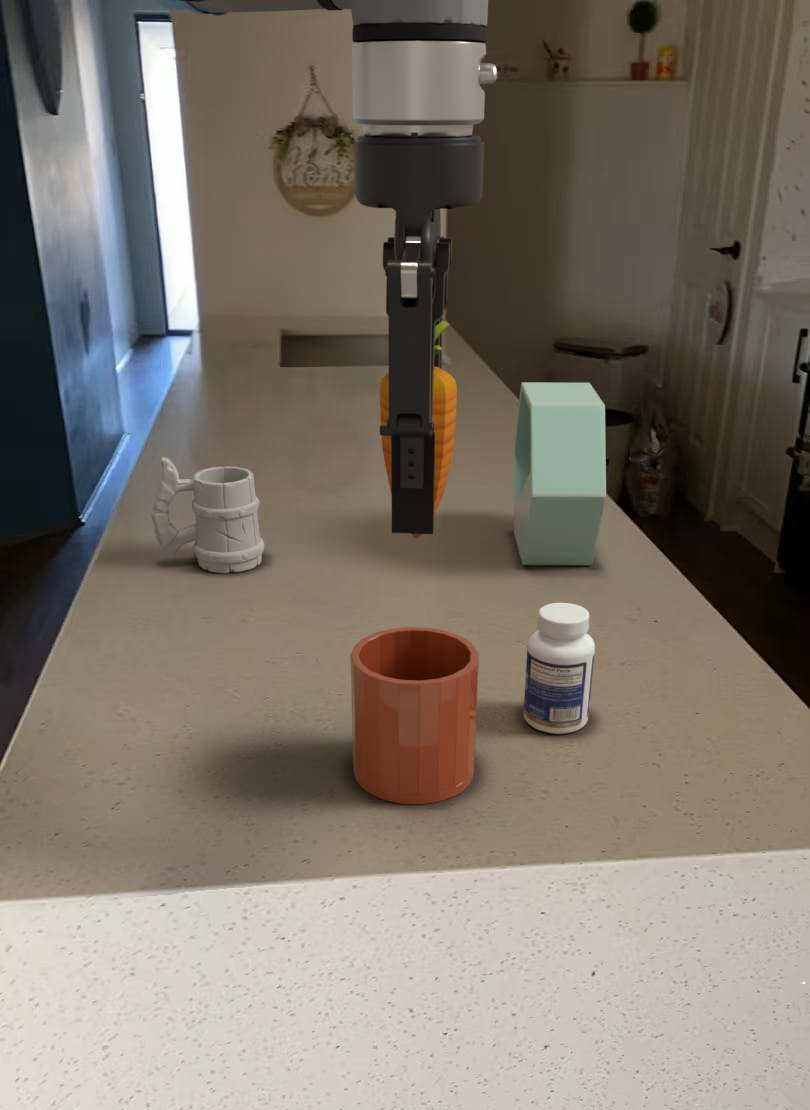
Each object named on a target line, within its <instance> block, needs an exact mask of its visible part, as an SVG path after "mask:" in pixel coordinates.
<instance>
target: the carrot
mask: <svg viewBox="0 0 810 1110" xmlns="http://www.w3.org/2000/svg"><path fill="white" fill-rule="evenodd" d="M449 327H450V323H449V322H447V321H445V320H443V321H442V322H441V323H439V324H438V325H437V326H436V327H435V341H436V339H437V338H438V336H439V335H440V334H441V333H442V334H443V332H445V331H446V330H447V329H448V328H449ZM440 350H441V347H440V346H439V345H435V353H434V357H435V356H436V355H437V354H438V353H439V351H440ZM457 400H458V385H457V382H456V379H455V378H454V377H453V376H452V374H451V373H449V372H447V371H445V370H443V368H442V369H440V368H438V367H435V366H434V386H433V418H432V420H433V423H434V431H433V432H435V479H434V516H435V515H436V514H437V511H438V509H439V506H440V504H441V501H442V499H443V497H444V494H445V490H446V487H447V486H446V485H447V482H448V478H449V473H450V469H451V463H452V458H453V453H454V445H455V433H456V422H457V404H458V403H457ZM379 409H380V410H379V411H380V415H379V416H380V426H387V419H389V372H387V373H386V374H385V375H384V376H383V377H382V378H381V381H380V385H379ZM381 447H382V449H381V450H382V455H383V460H384V466H385V471H386V476H387V481H388V485H389V490H390V494H391V495H392V478H391V436H381ZM411 535H412V537H414V538H415V539H419V538H421V536H423V534H411Z"/></svg>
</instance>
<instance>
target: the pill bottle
mask: <svg viewBox="0 0 810 1110" xmlns="http://www.w3.org/2000/svg"><path fill="white" fill-rule="evenodd" d="M589 628H590V612H589V611H588V610H587V608H585V607H583V606H581V605H579V604H575V603H569V602H568V603H567V602H554V603H547V604H544V605H542V606H541V607H540V608H539V609H538V617H537V630H535V631H534V632H532V634H531V635H530V637H529V638H528V641H527V645H526V646H527V647H526V666H525V679H524V680H525V683H524V698H523V718H524V720H525V721H526V723H527V724H528V725H529V726H530V727H532V728H534V729H536V730H537V731H540V732H544V733H549V734H556V735H559V734H560V735H565V734H569V733H574V732H577V731H579V730H580V729H583V728H584V727H585V725H587V723H588V720H589V714H590V706H591V695H592V685H593V676H594V675H593V673H594V663H595V655H596V645H595V641H594V640H593V638H592V636H591V635H590V634H588V632H589Z"/></svg>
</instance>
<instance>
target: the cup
mask: <svg viewBox="0 0 810 1110" xmlns="http://www.w3.org/2000/svg"><path fill="white" fill-rule="evenodd" d="M350 653H351V654H350V686H351V687H350V691H351V737H352V739H351V740H352V764H353V776H354V779H355V780H356V782H357V784H358V785H359V786H360V787H361V789H363V790H364V791H365V792H367V793H368V794H370V795H372V796H374V797H376V798H378V799H380V800H384V801H387V802H392V803H395V804H402V805H426V804H433V803H434V804H435V803H438V802H442V801H446V800H449V799H451V798H453V797H455V796H457V795H459V794H460V793H462V792H463V791H465V790H466V789H467V788H468V787H469V785H470V784H471V783H472V781H473V778H474V774H475V759H476V758H475V757H476V735H477V733H476V732H477V712H478V711H477V709H478V707H477V706H478V685H479V684H478V681H479V663H480V659H479V658H480V653H479V651H478V650H477V648H476V646H475V645H474V643H473V642H471V641H470V640H468V639H467V638H465V637H464V636H462V635H459V634H457V633H455V632H451V631H448V630H444V629H439V628H434V627H421V626H405V627H395V628H389V629H384V630H381V631H378V632H374V633H372V634H370V635H368V636H365V637H363V638H362V639H360V640H359V641H358V642H357V643H356V644H354V645H353V647H352V649H351V652H350Z"/></svg>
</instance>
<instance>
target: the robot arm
mask: <svg viewBox="0 0 810 1110" xmlns="http://www.w3.org/2000/svg"><path fill="white" fill-rule="evenodd" d="M154 1H155V3H157V4H158V5H159V6H160V7H162V8H163V9H166V10H169V11H171V12H180V13H181V12H182V13H184V12H185V13H194V14H198V15H212V16H213V17H221V16H225V15H228V13H259V12H260V13H262V12H263V13H265V12H266V13H267V12H268V13H269V12H289V11H311V10H312V11H313V10H325V11H342V10H351V19H352V28H351V30H352V31H351V33H352V34H351V35H352V37H351V38H352V40H351V41H352V42H353V43H351V84H352V85H351V86H352V87H351V90H352V119H353V120H354V122H356V124H357V125H362V127H363V128H362V129H363V130H362V131H363V133H362V135H358V136H357V141H354V142H353V145H354V147H353V148H354V150H353V151H354V194H355V199H356V200H357V202H358V203H359V204H361V205H362V206H364V207H366V208H367V207H368V208H374V209H392V210H394V211H395V221H394V235H393V236H388V237H387V241H383V245H382V268H383V270H384V274H385V275H384V276H385V277H386V287H385V289H386V290H385V291H386V292H385V295H386V297H385V311H386V315H387V316H388V373H389V419H387V426H381V425H379V435H380V437H382V436H391V478H392V494H391V534H410V535H412V534H422V535H434V531H435V530H434V529H435V515H434V479H435V432H433V431H434V423H433V420H432V418H433V386H434V366H435V367H438V368H440V369H442V370H443V332H442V333H441V334H440V335H439V336H438V338H437V339H436V341H435V327H436V326H437V325H438V324H439V323H441V322H442V321H444V319H443V318H444V314H445V310H446V308H447V305H448V299H449V271H450V268H451V266H452V261H453V237H445V236H441V235H442V233H441V232H442V231H441V229H442V228H441V227H442V226H441V225H442V224H441V221H442V220H441V210H457V209H465V208H471V207H475V206H477V205H478V204H479V203H480V202H481V200H482V198H483V191H484V190H483V189H484V162H485V161H484V160H485V159H484V158H485V142H484V141H482V138H481V136H480V135H473V131H474V125H479V124H481V123H482V122H483V121H484V120H485V103H486V102H485V100H486V92H485V91H484V89H483V88H482V87H481V85H483V84H493V83H495V82H496V81H497V80H498V70H497V66H496V65H495V64H493V63H485V62H484V63H483V62H482V61H483V59H484V58H485V57H486V56H487V44H486V43H487V42H488V28H487V27H488V18H489V17H488V15H489V0H154ZM435 345H439V346H440V347H441V350H440V351H439V353H438V354H437V355H436V356H435V357H434V353H435Z"/></svg>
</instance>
